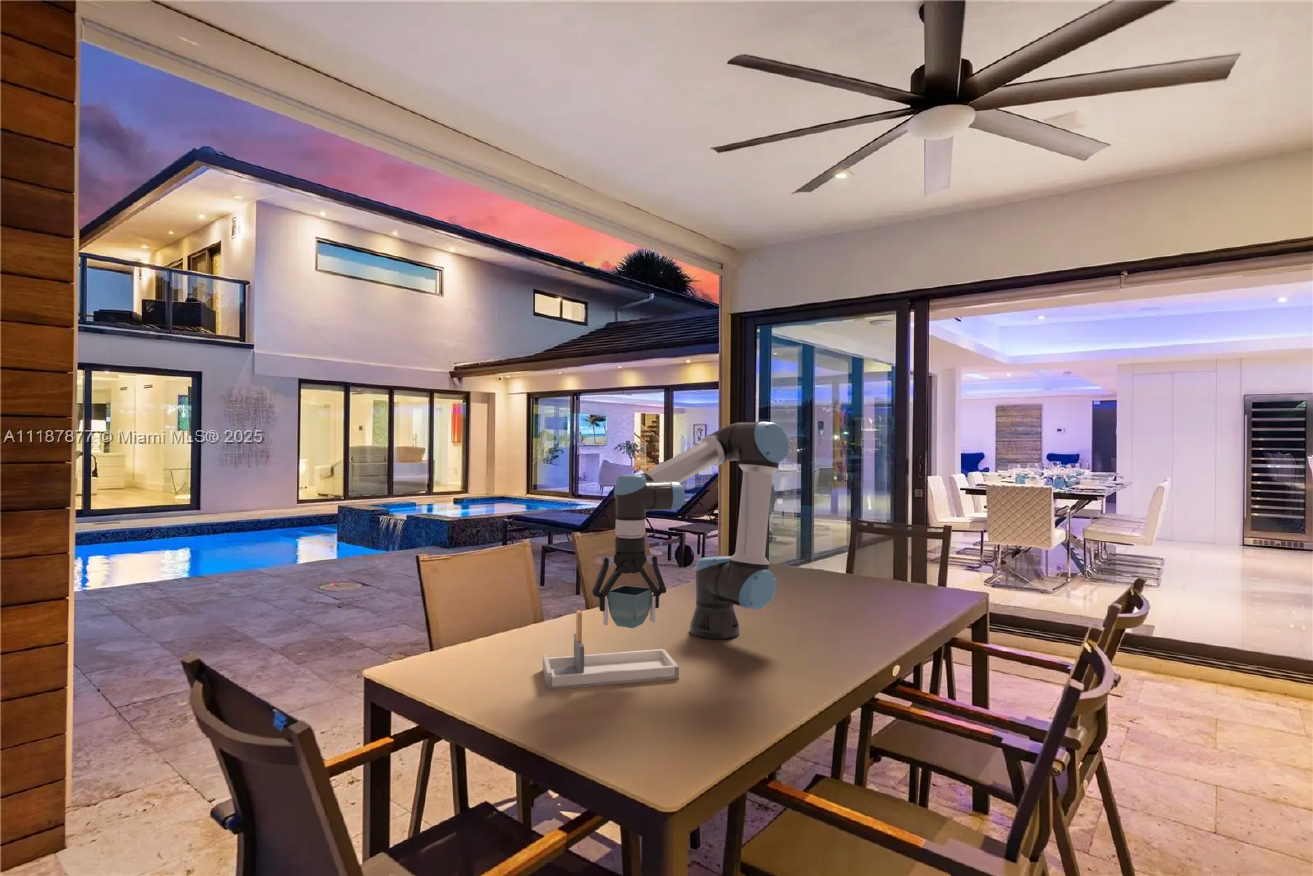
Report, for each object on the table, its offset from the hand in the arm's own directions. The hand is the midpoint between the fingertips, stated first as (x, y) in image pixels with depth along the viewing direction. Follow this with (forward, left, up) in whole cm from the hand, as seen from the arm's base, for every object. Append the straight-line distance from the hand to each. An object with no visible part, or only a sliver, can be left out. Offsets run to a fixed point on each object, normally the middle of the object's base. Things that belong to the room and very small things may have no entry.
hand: (629, 622), depth 163 cm
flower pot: (0, 0, -1) cm, 1 cm away
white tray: (+5, 0, -13) cm, 14 cm away
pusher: (+15, 0, -12) cm, 19 cm away
